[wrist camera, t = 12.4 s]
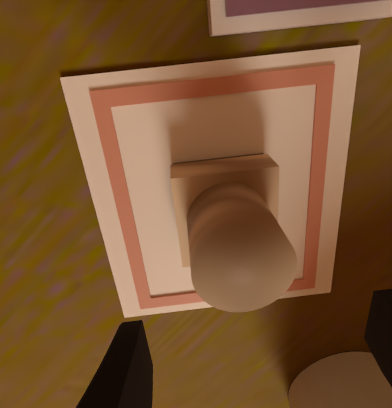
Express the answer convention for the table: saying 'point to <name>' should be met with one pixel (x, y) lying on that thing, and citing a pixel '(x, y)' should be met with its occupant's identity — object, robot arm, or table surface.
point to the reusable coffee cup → (341, 383)
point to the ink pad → (288, 14)
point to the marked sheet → (209, 149)
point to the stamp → (232, 230)
